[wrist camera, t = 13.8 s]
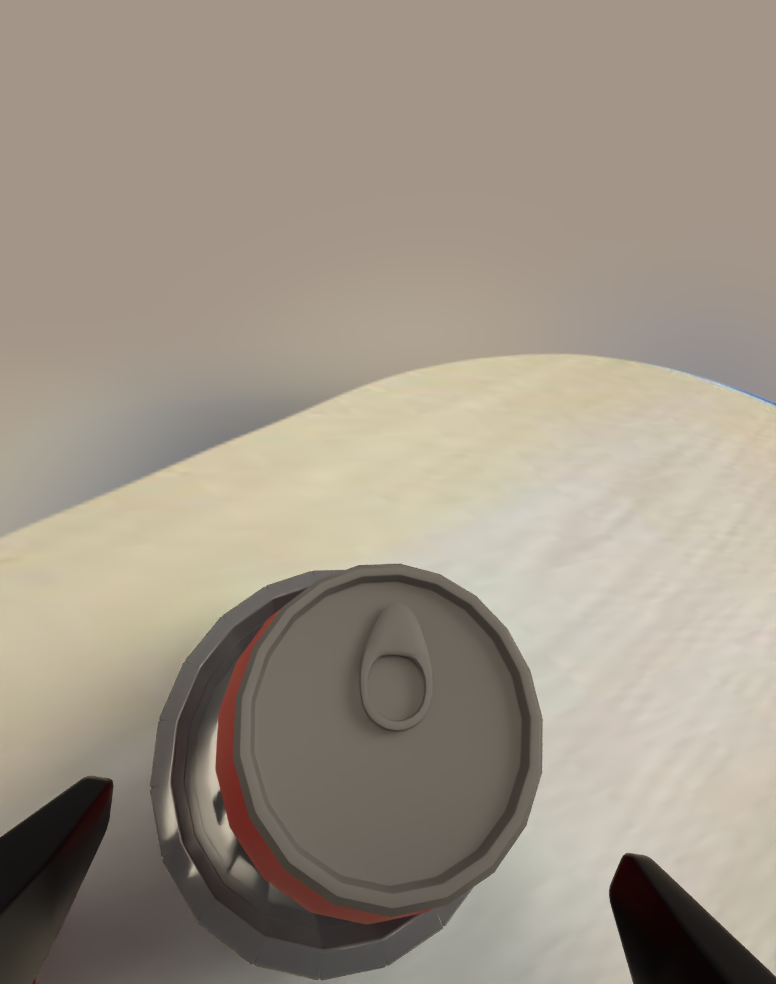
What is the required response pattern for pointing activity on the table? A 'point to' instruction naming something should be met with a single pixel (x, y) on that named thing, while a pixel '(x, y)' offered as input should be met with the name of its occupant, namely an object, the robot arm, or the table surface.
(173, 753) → the grey bowl
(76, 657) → the table surface
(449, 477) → the table surface
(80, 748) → the table surface
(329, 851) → the beer can
